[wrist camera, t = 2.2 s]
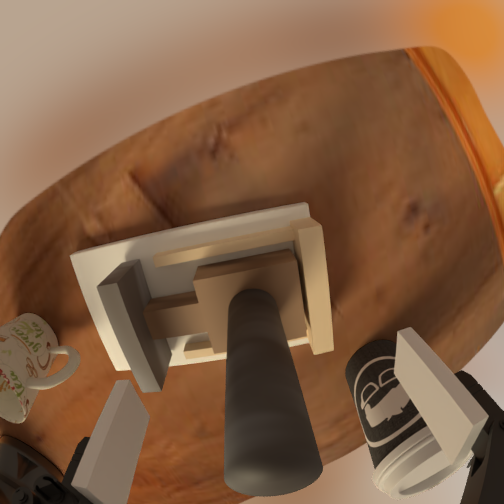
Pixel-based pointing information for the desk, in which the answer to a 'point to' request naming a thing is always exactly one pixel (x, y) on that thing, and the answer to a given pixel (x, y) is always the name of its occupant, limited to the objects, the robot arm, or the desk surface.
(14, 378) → the mug
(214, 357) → the white slotted peg base
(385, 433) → the coffee cup
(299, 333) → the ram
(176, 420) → the desk surface
